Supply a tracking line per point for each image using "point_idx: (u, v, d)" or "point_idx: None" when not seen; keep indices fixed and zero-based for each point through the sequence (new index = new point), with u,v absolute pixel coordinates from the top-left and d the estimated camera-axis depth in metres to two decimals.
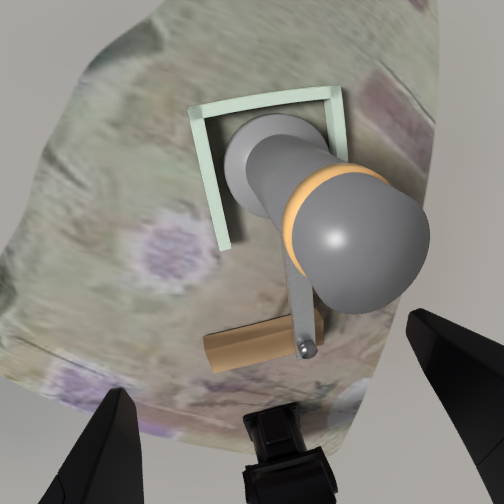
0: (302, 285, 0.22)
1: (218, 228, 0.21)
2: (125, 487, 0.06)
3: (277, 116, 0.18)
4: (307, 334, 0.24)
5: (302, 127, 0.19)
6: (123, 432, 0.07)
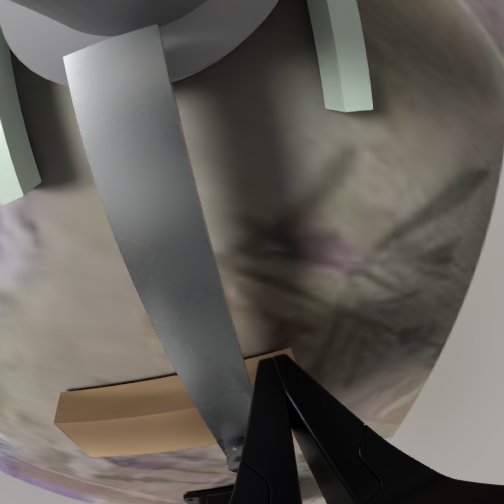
0: (193, 314, 0.06)
1: None
2: None
3: None
4: (242, 427, 0.09)
5: None
6: None
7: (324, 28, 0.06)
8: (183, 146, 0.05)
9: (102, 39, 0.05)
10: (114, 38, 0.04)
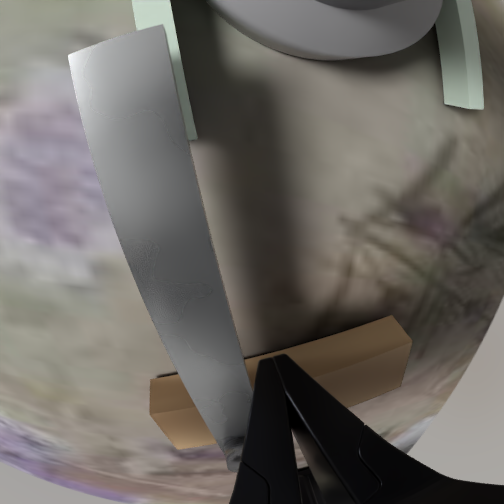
0: (195, 313, 0.06)
1: None
2: None
3: None
4: (242, 427, 0.09)
5: None
6: (286, 402, 0.07)
7: (453, 41, 0.07)
8: (187, 146, 0.05)
9: (315, 3, 0.05)
10: (119, 37, 0.04)
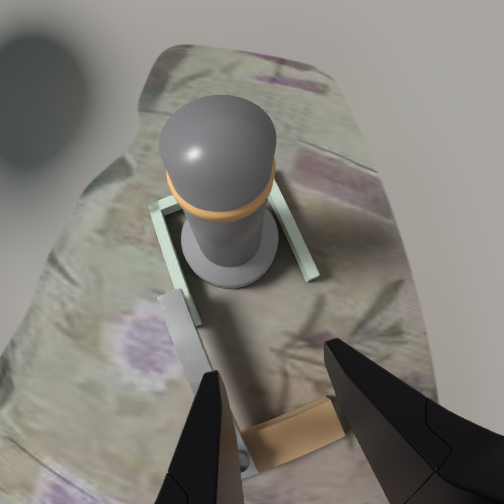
0: (200, 372, 0.18)
1: None
2: (233, 476, 0.06)
3: None
4: None
5: None
6: (227, 417, 0.07)
7: (295, 252, 0.23)
8: (191, 319, 0.19)
9: (227, 268, 0.22)
10: (170, 292, 0.20)
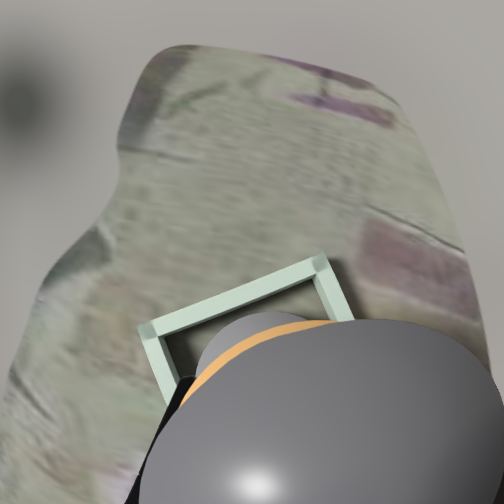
0: None
1: None
2: None
3: (247, 317, 0.14)
4: None
5: (285, 322, 0.14)
6: None
7: None
8: None
9: None
10: None
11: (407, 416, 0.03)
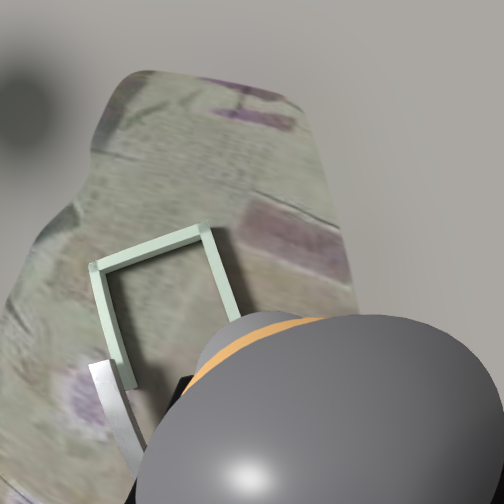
0: (127, 438, 0.17)
1: None
2: None
3: (246, 316, 0.14)
4: None
5: None
6: None
7: None
8: (119, 390, 0.18)
9: None
10: (99, 362, 0.18)
11: (403, 412, 0.03)
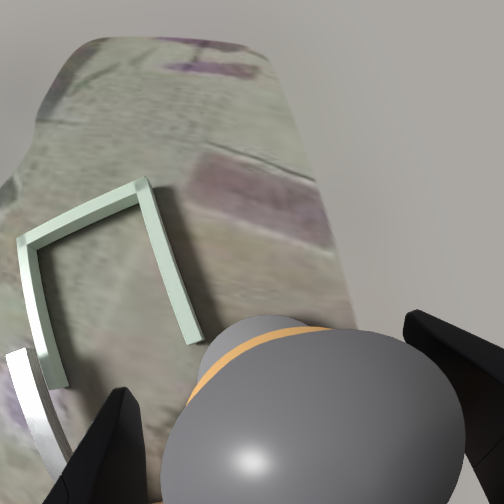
0: (50, 449, 0.11)
1: (42, 362, 0.14)
2: (129, 487, 0.06)
3: (246, 320, 0.15)
4: None
5: (282, 325, 0.15)
6: (127, 432, 0.07)
7: None
8: (36, 388, 0.12)
9: None
10: (16, 351, 0.13)
11: (371, 405, 0.04)
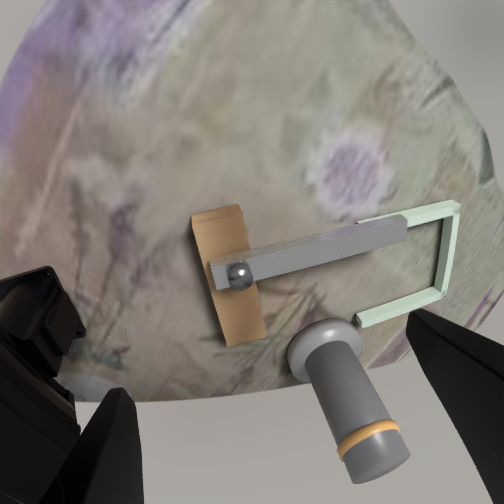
0: (336, 250, 0.19)
1: None
2: (125, 487, 0.06)
3: (362, 348, 0.27)
4: (260, 270, 0.19)
5: None
6: (123, 432, 0.07)
7: (381, 311, 0.26)
8: (380, 247, 0.20)
9: (305, 358, 0.26)
10: (406, 231, 0.20)
11: (390, 468, 0.17)
